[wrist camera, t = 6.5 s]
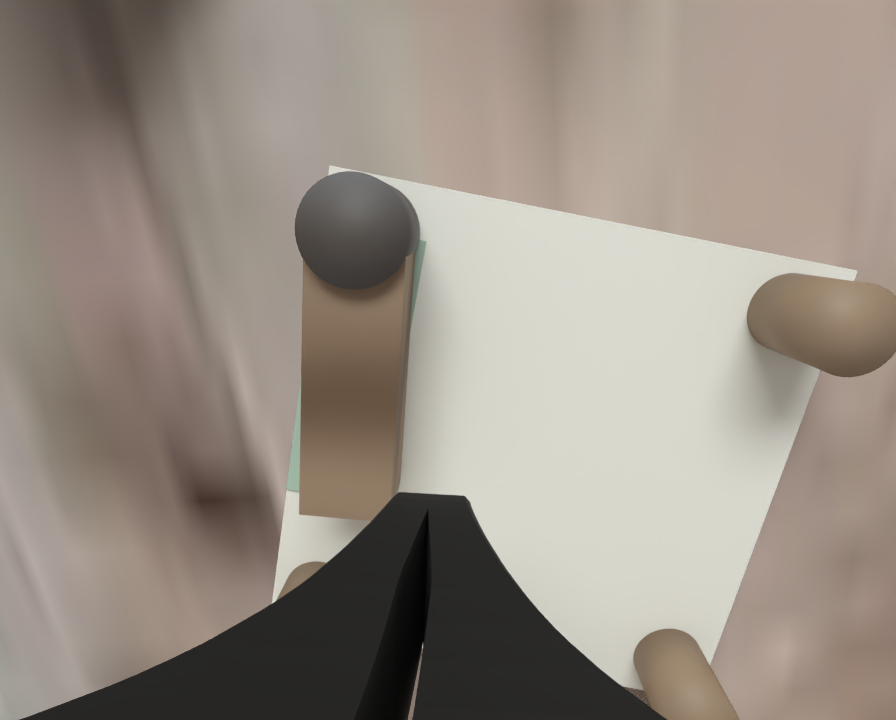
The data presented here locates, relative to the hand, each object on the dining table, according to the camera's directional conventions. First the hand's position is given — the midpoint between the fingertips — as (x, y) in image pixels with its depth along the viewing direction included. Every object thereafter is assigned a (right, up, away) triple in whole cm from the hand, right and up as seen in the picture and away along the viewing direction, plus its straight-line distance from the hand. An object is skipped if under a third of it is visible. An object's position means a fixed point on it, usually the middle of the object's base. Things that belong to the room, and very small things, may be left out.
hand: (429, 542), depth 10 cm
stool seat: (+3, 0, +9) cm, 10 cm away
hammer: (-2, +4, +7) cm, 8 cm away
